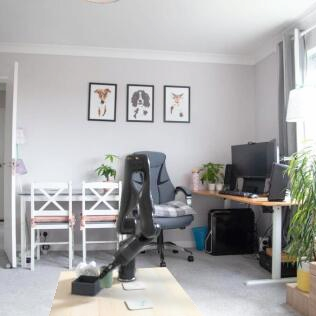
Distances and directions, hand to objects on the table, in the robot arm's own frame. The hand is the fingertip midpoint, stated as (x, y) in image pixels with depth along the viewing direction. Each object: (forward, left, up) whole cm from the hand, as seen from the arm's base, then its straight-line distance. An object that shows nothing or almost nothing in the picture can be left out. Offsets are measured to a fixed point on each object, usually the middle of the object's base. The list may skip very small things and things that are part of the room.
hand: (102, 275), depth 163 cm
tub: (-5, -9, -10) cm, 14 cm away
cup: (0, +2, -5) cm, 5 cm away
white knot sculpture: (-21, -15, -10) cm, 28 cm away
